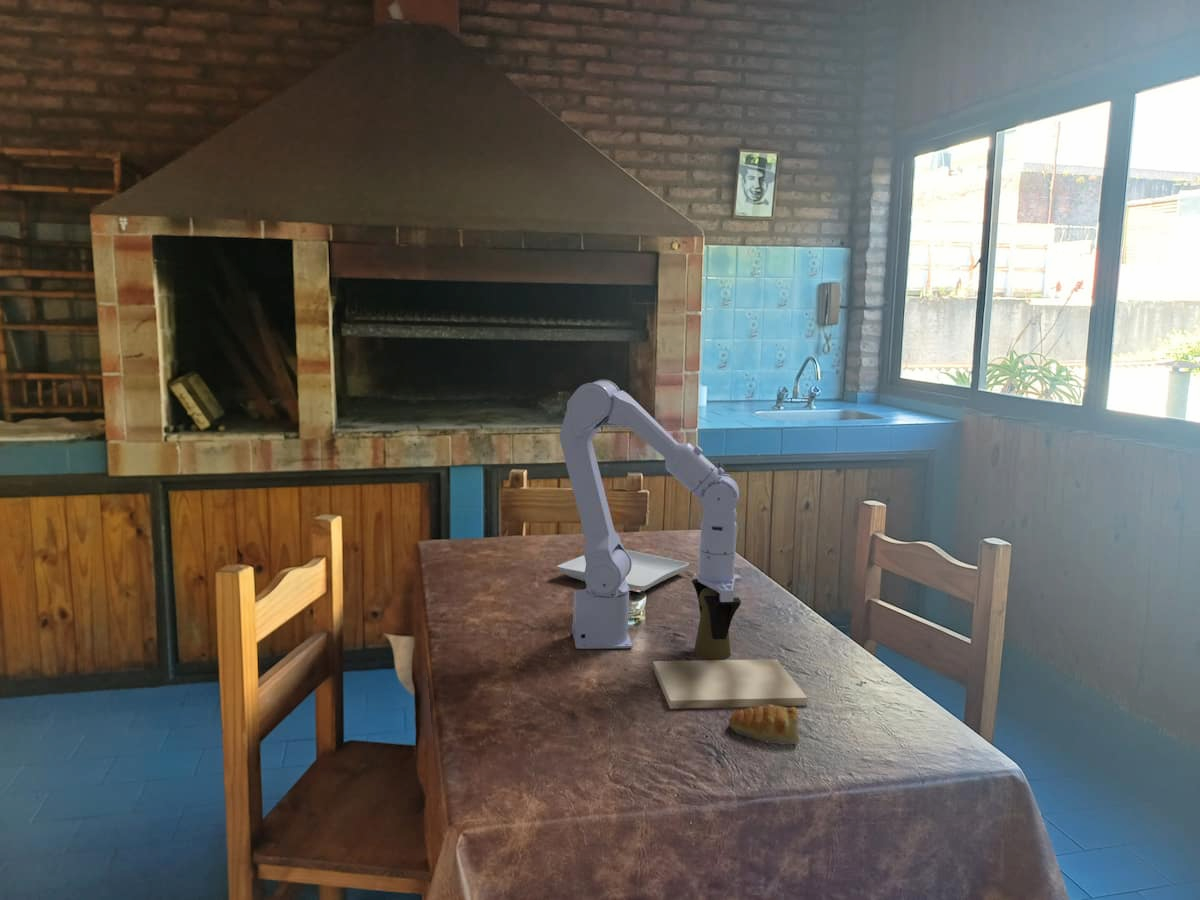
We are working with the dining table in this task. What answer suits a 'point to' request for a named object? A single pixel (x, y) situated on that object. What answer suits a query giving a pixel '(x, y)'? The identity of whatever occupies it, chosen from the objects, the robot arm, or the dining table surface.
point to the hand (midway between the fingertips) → (713, 630)
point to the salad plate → (633, 569)
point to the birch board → (727, 684)
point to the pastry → (767, 723)
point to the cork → (709, 634)
